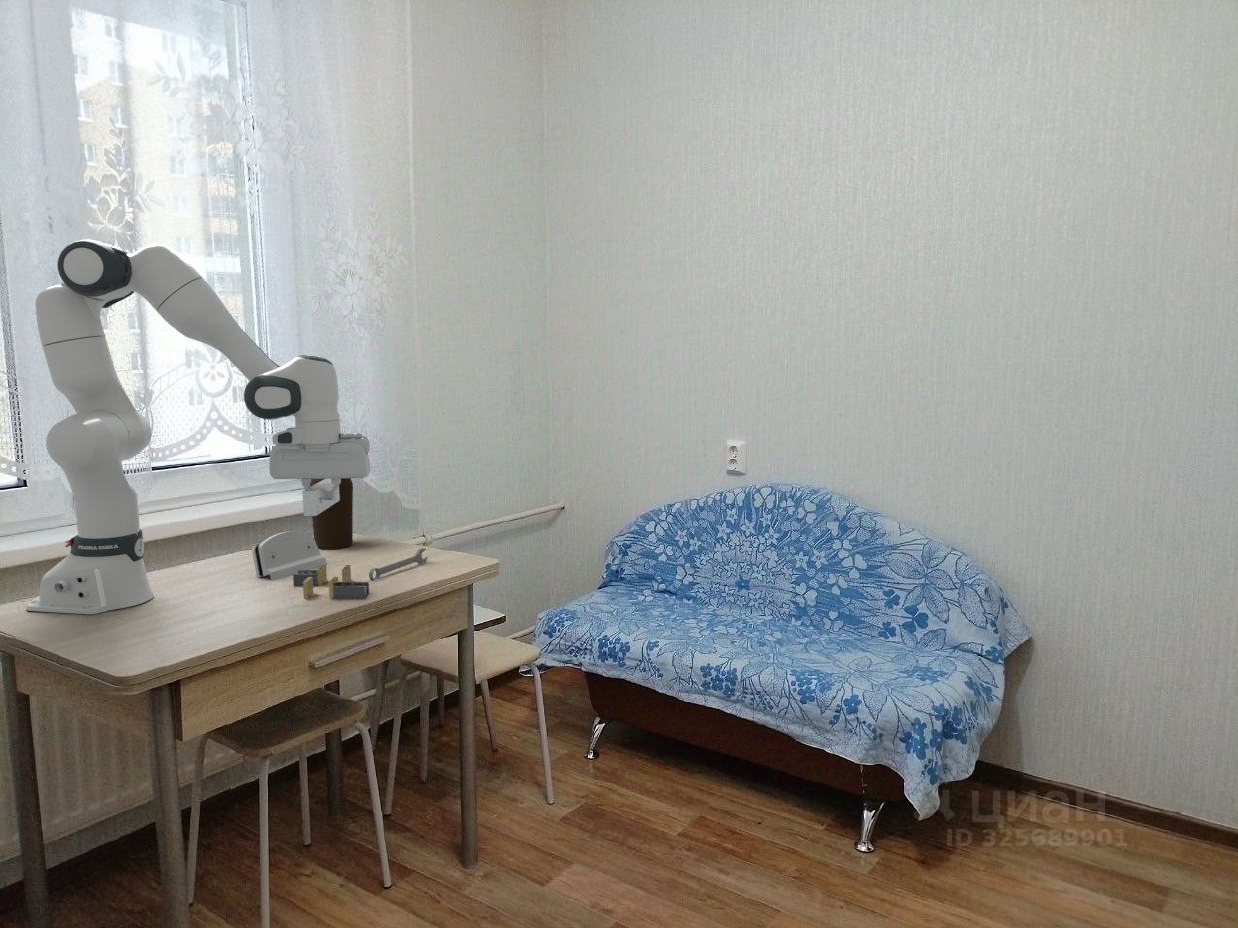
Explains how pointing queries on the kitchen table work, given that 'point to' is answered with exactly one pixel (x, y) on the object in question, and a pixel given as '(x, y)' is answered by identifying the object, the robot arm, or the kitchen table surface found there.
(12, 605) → the kitchen table surface
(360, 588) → the ball bearing track
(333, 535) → the olive oil
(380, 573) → the combination wrench
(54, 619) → the kitchen table surface
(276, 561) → the hinge
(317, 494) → the long grey beam
